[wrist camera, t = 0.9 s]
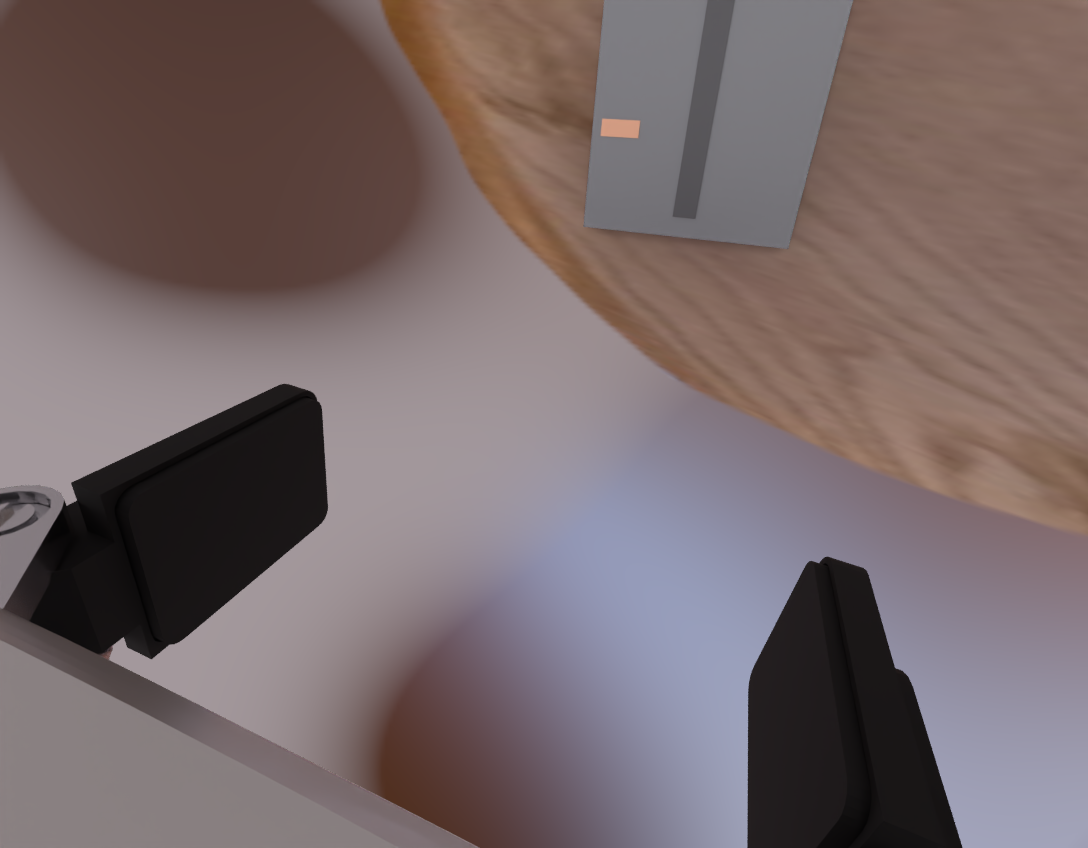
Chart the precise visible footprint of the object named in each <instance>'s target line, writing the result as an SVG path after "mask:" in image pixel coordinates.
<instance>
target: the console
mask: <svg viewBox="0 0 1088 848" xmlns="http://www.w3.org/2000/svg"><path fill="white" fill-rule="evenodd" d="M852 3H853V0H604V9H603V19H602V30H601V41H600V52H599V63H598V74H597V85H596V96H595V107H594V118H593V129H592V140H591V150H590V161H589V172H588V183H587V194H586V205H585V216H584V227H591V228H600V229H609V230H618V231H628V232H637V233H646V234H655V235H664V236H673V237H683V238H692V239H701V240H710V241H719V242H728V243H738V244H747V245H756V246H765V247H774V248H783V249H788V247H789V244H790V240H791V236H792V232H793V228H794V224H795V221H796V217H797V213H798V209H799V205H800V202H801V198H802V194H803V190H804V186H805V182H806V179H807V175H808V171H809V167H810V163H811V159H812V156H813V152H814V148H815V144H816V140H817V136H818V133H819V129H820V125H821V121H822V117H823V114H824V110H825V106H826V102H827V98H828V94H829V91H830V87H831V83H832V79H833V75H834V71H835V68H836V64H837V60H838V56H839V52H840V48H841V45H842V41H843V37H844V33H845V29H846V26H847V22H848V18H849V14H850V10H851V6H852Z"/></svg>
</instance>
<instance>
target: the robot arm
mask: <svg viewBox="0 0 1088 848" xmlns="http://www.w3.org/2000/svg"><path fill="white" fill-rule="evenodd" d="M325 470H326V469H325V453H324V436H323V420H322V408H321V405H320V403H319V402H318V401H317V398H316V397H315V395H314V394H313V393H312V392H310V391H308V390H305V389H301V388H298V387H295V386H292V385H289V384H282V385H278V386H277V387H274V388H272V389H270V390H268V391H266V392H264V393H261V394H259V395H257V396H255V397H253V398H251V399H249V400H247V401H245V402H242V403H240V404H238V405H236V406H234V407H232V408H230V409H227V410H225V411H223V412H221V413H219V414H217V415H215V416H213V417H210V418H208V419H206V420H204V421H202V422H200V423H198V424H195V425H193V426H191V427H189V428H187V429H185V430H183V431H181V432H178V433H176V434H174V435H172V436H170V437H168V438H166V439H164V440H162V441H160V442H157V443H155V444H153V445H151V446H149V447H147V448H144V449H142V450H140V451H138V452H136V453H134V454H132V455H129V456H127V457H125V458H123V459H121V460H119V461H117V462H115V463H112V464H110V465H108V466H106V467H104V468H102V469H100V470H98V471H95V472H93V473H91V474H89V475H87V476H85V477H83V478H81V479H79V480H76V481H74V482H72V483H71V484H72V487H73V490H74V493H75V495H76V498H77V501H76V502H74V503H72V504H70V505H68V506H66V503H65V501H64V498H63V497H62V495H61V493H60V492H58V491H56V490H54V489H52V488H48V487H43V486H37V485H36V486H34V485H33V486H14V487H7V488H1V489H0V848H479V847H477V846H475V845H473V844H471V843H469V842H467V841H465V840H463V839H461V838H460V837H458V836H456V835H454V834H452V833H450V832H448V831H446V830H444V829H442V828H440V827H438V826H436V825H434V824H432V823H430V822H428V821H426V820H424V819H422V818H420V817H419V816H417V815H415V814H413V813H411V812H409V811H407V810H405V809H403V808H401V807H399V806H397V805H395V804H393V803H391V802H389V801H387V800H385V799H384V798H381V797H380V796H378V795H376V794H373V793H371V792H370V791H368V790H366V789H364V788H362V787H360V786H358V785H356V784H354V783H352V782H350V781H348V780H346V779H344V778H342V777H340V776H338V775H336V774H334V773H332V772H330V771H328V770H326V769H324V768H322V767H320V766H318V765H316V764H314V763H312V762H311V761H308V760H307V759H305V758H303V757H301V756H299V755H297V754H295V753H293V752H291V751H288V750H287V749H285V748H283V747H281V746H279V745H277V744H275V743H273V742H271V741H269V740H267V739H265V738H263V737H261V736H259V735H257V734H255V733H253V732H251V731H249V730H247V729H245V728H243V727H241V726H239V725H237V724H235V723H233V722H231V721H229V720H227V719H226V718H224V717H222V716H220V715H218V714H216V713H214V712H211V711H210V710H208V709H205V708H204V707H202V706H200V705H198V704H196V703H194V702H192V701H190V700H188V699H186V698H184V697H181V696H180V695H178V694H176V693H173V692H171V691H170V690H168V689H166V688H164V687H162V686H160V685H158V684H156V683H154V682H152V681H150V680H148V679H146V678H144V677H141V676H140V675H138V674H136V673H133V672H132V671H130V670H128V669H125V668H124V667H122V666H119V665H118V664H115V663H113V662H111V661H110V660H109V657H110V655H111V652H112V649H113V645H114V644H115V643H116V642H117V641H119V640H120V639H121V638H123V637H124V639H125V642H126V645H127V647H128V648H130V649H132V650H134V651H136V652H138V653H140V654H142V655H144V656H146V657H148V658H150V659H152V658H153V657H155V656H156V655H157V654H158V653H160V652H161V651H162V650H163V649H165V648H166V647H167V646H168V645H169V644H175V643H178V642H180V641H181V640H183V639H184V638H185V637H186V636H188V635H189V634H190V633H191V632H193V631H194V630H195V629H196V628H197V627H199V626H200V625H201V624H202V623H203V622H205V621H206V620H207V619H208V618H209V617H210V616H211V615H213V614H214V613H215V612H216V611H218V610H219V609H220V608H221V607H222V606H224V605H225V604H226V603H227V602H228V601H229V600H231V599H232V598H233V597H234V596H235V595H237V594H238V593H239V592H240V591H241V590H242V589H244V588H245V587H246V586H247V585H249V584H250V583H251V582H252V581H253V580H255V579H256V578H257V577H258V576H259V575H260V574H262V573H263V572H264V571H265V570H267V569H268V568H269V567H270V566H271V565H273V564H274V563H275V562H276V561H277V560H278V559H280V558H281V557H282V556H283V555H284V554H286V553H287V552H288V551H289V550H290V549H292V548H293V547H294V546H295V545H296V544H298V543H299V542H300V541H301V540H302V539H303V538H305V537H306V536H307V535H308V534H309V533H311V532H312V531H313V530H314V529H315V528H316V527H318V526H319V525H320V524H321V523H322V522H323V520H324V519H325V517H326V514H327V511H328V503H327V485H326V471H325ZM748 690H749V691H748V848H962V845H961V841H960V838H959V835H958V832H957V828H956V825H955V822H954V819H953V815H952V812H951V809H950V806H949V803H948V800H947V796H946V793H945V790H944V786H943V783H942V780H941V777H940V774H939V770H938V767H937V764H936V761H935V757H934V754H933V751H932V747H931V744H930V741H929V738H928V734H927V731H926V728H925V725H924V722H923V718H922V715H921V712H920V709H919V706H918V702H917V699H916V696H915V692H914V689H913V686H912V684H911V682H910V680H909V677H908V676H907V675H906V674H905V673H904V672H903V671H901V670H899V669H896V668H895V667H894V663H893V660H892V656H891V653H890V649H889V646H888V642H887V639H886V635H885V632H884V628H883V624H882V621H881V618H880V614H879V610H878V607H877V604H876V600H875V597H874V593H873V589H872V586H871V583H870V579H869V575H868V573H867V571H866V570H865V569H864V568H861V567H858V566H855V565H852V564H849V563H846V562H843V561H839V560H836V559H833V558H830V557H825V558H823V559H822V560H821V562H820V563H816V562H813V561H809V562H808V563H807V565H806V566H805V568H804V570H803V572H802V574H801V576H800V578H799V580H798V582H797V584H796V585H795V587H794V589H793V591H792V593H791V595H790V597H789V599H788V601H787V603H786V605H785V607H784V609H783V611H782V613H781V615H780V617H779V619H778V621H777V622H776V625H775V627H774V629H773V631H772V632H771V634H770V636H769V638H768V640H767V642H766V644H765V646H764V648H763V650H762V652H761V654H760V656H759V658H758V660H757V662H756V663H755V665H754V668H753V670H752V673H751V676H750V681H749V689H748Z"/></svg>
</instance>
